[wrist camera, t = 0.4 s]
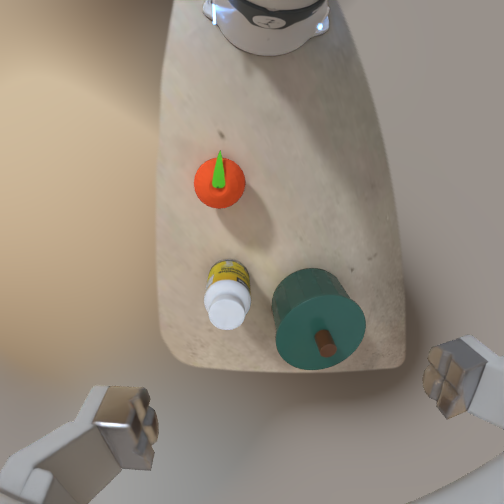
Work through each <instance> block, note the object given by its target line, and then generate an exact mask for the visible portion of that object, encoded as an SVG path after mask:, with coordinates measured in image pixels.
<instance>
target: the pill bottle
mask: <svg viewBox="0 0 504 504" xmlns="http://www.w3.org/2000/svg"><path fill="white" fill-rule="evenodd" d="M204 304H205V308H206V310H207V311H208V313H209V319H210V321H211V322H212V324H213V325H214V326H216V327H217V328H220V329H223V330H231V329H234V328H237V327H238V326H240V325H241V324H242V323H243V321H244V318H245V315H246V314H247V312H248V311H249V309H250V306H251V294H250V282H249V274H248V271H247V269H246V268H245V267H244V265H242V264H241V263H240V262H238V261H235V260H231V259H226V260H222V261H219V262H217V263H216V264H215V265H214V266H213V267H212V268H211V270H210V272H209V276H208V281H207V286H206V291H205V297H204Z"/></svg>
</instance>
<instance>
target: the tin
mask: <svg viewBox="0 0 504 504" xmlns="http://www.w3.org/2000/svg"><path fill="white" fill-rule="evenodd" d="M327 293H331V294H340V295H343V296H346V297H348V298H350V297H349V296H348V294H347V293H346V291H345V290H344V288H343V287H342V285H341V284H340V282H339V281H338V279H337V278H336V277H335V276H334V275H332V274H331V273H329V272H327V271H325V270H322V269H316V268H309V269H303V270H299V271H297V272H294V273H292V274H291V275H289V276H288V277H286V278H285V279H284V280H283V281H282V282H281V283H280V284H279V285H278V287H277V288H276V290H275V292H274V295H273V298H272V311H273V316H274V321H275V326H276V331H277V328H278V325H279V323H280V321H281V319H282V318H283V316H284V315H285V314H286V313H287V312H288V311H289V310H290V309H291V308H292V307H293V306H295V305H296V304H297V303H299V302H301V301H302V300H304V299H307V298H309V297H312V296H315V295H319V294H327Z"/></svg>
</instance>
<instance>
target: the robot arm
mask: <svg viewBox="0 0 504 504" xmlns="http://www.w3.org/2000/svg"><path fill="white" fill-rule="evenodd" d="M212 2H213V4H211V3H212ZM329 10H330V8H329V7H328V6H327V0H206V1H205V3H204V5H203V13H204V14H205V15H206V16H207V17H208V18H210V19H211V20H213V24H217V25H218V26H219V28H220V30H221V32H222V33H223V35H224V36H225V37H226V38H227V39H228V40H229V41H230V42H231V43H232V44H233V45H235V46H236V47H238V48H240V49H241V50H244V51H246V52H249V53H252V54H256V55H262V56H276V55H282V54H286V53H289V52H291V51H294V50H296V49H297V48H299V47H300V46H302V45H303V44H304V43H305V42H306V41H307V40H308V39H310V38H311V37H314V36H317V35H320V34H323V33H325V32H327V30H328V29H329V18H328V13H329ZM427 359H428V361H429V363H430V364H429V365H428V366H427V368H426V369H425V370H424V374H423V388H424V390H425V392H426V394H427V395H428V397H429V398H431V399H434V400H436V401H437V406H436V407H437V408H438V409H439V410H440V412H441V413H442V414H443V415H444V416H445V418H446V419H449V418H452V417H454V416H457V415H459V414H461V413H463V412H466V411H467V412H468V413H470V414H473V415H474V416H476V417H479V418H481V419H483V420H485V421H487V422H489V423H491V424H493V425H495V426H497V427H499V428H502V429H504V356H501V357H499V356H498V355H496V354H495V353H494V352H493V351H491V350H490V349H489V348H488V347H486V346H485V345H484V344H483V343H481V342H480V341H479V340H477V339H476V338H475V337H474V336H472V335H465V336H462V337H460V338H457V339H456V340H452V341H449V342H446V343H443V344H440V345H437V346H434V347H432V348H431V349H430V351H429V354H428V358H427ZM149 402H150V396H149V394H148V391H147V389H145V388H144V387H122V386H104V385H95V386H94V387H92V389H91V391H90V392H89V394H88V396H87V398H86V400H85V402H84V403H83V405H82V407H81V409H80V411H79V413H78V415H77V417H76V418H75V420H74V422H72V421H69V422H67V423H65V424H64V425H62V426H60V427H59V428H57V429H55V430H54V431H52V432H51V433H49V434H47V435H45V436H44V437H42V438H40V439H39V440H37V441H35V442H34V443H32V444H30V445H28V446H27V447H25V448H23V449H21V450H20V451H18V452H16V453H14V454H13V455H11V456H9V458H8V460H7V461H6V463H5V465H4V467H3V468H2V470H1V472H0V504H88V503H89V502H90V501H91V500H92V499H93V498H94V497H95V496H96V495H97V494H98V493H99V492H100V491H101V490H102V489H103V488H105V487H106V485H108V484H109V483H110V482H111V480H113V479H114V477H116V475H118V474H119V473H120V472H121V470H122V469H135V470H150V471H151V468H152V462H153V458H154V453H155V452H154V450H153V448H152V445H153V444H154V443H155V442H156V441H157V438H158V433H159V432H158V419H157V415H156V412H155V410H154V409H153V408H151V407H150V406H149ZM121 468H122V469H121ZM406 504H504V451H503V452H502V453H500V454H499V455H498V456H496V457H495V458H493V459H492V460H490V461H488V462H487V463H485V464H483V465H482V466H480V467H479V468H477V469H475V470H474V471H472V472H470V473H468V474H467V475H465V476H463V477H461V478H460V479H458V480H456V481H454V482H452V483H450V484H448V485H446V486H444V487H442V488H440V489H438V490H436V491H434V492H432V493H429V494H427V495H425V496H423V497H421V498H418V499H416V500H414V501H411V502H409V503H406Z"/></svg>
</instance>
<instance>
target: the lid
mask: <svg viewBox="0 0 504 504" xmlns="http://www.w3.org/2000/svg"><path fill="white" fill-rule="evenodd" d="M365 328H366V321H365V316H364V313H363V311H362V310H361V308H360V307H359V305H358V304H357V303H356V302H355V301H353V300H352V299H350V298H348V297H346V296H343V295H340V294H331V293H327V294H319V295H315V296H312V297H309V298H307V299H304V300H302V301H301V302H299V303H297V304H296V305H295V306H293V307H292V308H291V309H290V310H289V311H288V312H287V313H286V314H285V315H284V316H283V318H282V319H281V321H280V323H279V325H278V328H277V331H276V346H277V350H278V352H279V354H280V356H281V357H282V358H283V359H284V360H285V361H286V362H287V363H289V364H290V365H292V366H294V367H296V368H300V369H305V370H319V369H325V368H328V367H331V366H334V365H336V364H338V363H340V362H342V361H343V360H345V359H346V358H348V357H349V356H350V355H351V354H352V353H353V352H354V351H355V350H356V349H357V347H358V346H359V344H360V343H361V341H362V339H363V337H364V333H365Z"/></svg>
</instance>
